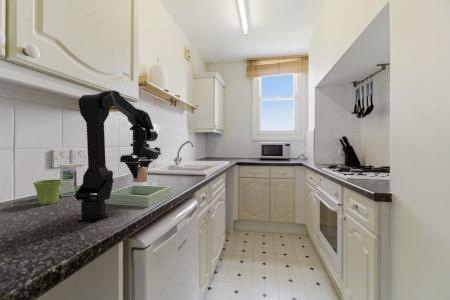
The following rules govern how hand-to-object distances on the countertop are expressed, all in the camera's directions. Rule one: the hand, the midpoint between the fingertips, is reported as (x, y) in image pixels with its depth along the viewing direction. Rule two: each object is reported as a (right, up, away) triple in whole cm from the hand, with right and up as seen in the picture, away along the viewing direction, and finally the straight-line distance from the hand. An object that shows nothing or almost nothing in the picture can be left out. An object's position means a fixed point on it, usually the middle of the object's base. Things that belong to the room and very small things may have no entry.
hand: (139, 177), depth 99 cm
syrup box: (-35, -9, +7) cm, 37 cm away
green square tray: (0, -9, 0) cm, 9 cm away
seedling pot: (0, -2, 0) cm, 2 cm away
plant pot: (-34, -10, -7) cm, 36 cm away
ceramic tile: (-20, -9, +3) cm, 22 cm away
